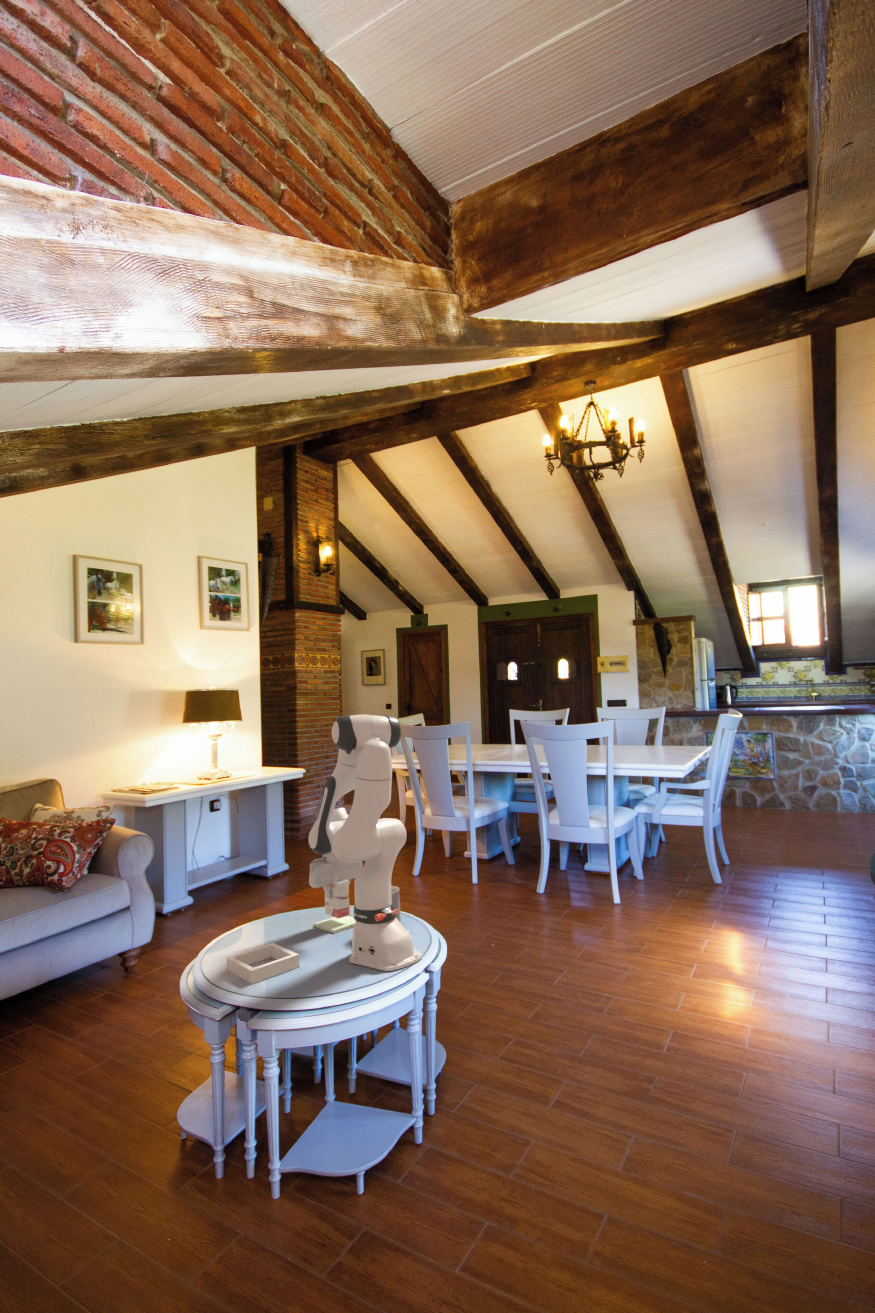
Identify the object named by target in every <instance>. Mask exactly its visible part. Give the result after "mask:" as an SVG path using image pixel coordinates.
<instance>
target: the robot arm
mask: <svg viewBox="0 0 875 1313" xmlns="http://www.w3.org/2000/svg"><path fill="white" fill-rule="evenodd" d="M401 729H402V728H401V724H400V721H398V719H397V718H396V717H394V716H391V715H373V714H368V713H367V714H364V713H363V714H352V715H348V714H345V715H340V716H338V717H336V719H334V721H333V722H332V727H331V737H332V738H331V739H332V742H333V744H334V745H335V746H336V748H337V747H338V754H337V762H336V764H335V765H336V766H335V767H334V770H333V772H332V773H331V775H330V776H329V777H328V778H326V780H325V782H324V784H323V787H322V790H321V794H320V797H319V801H318V805H317V809H316V812H315V816H314V820H313V823H312V825H311V827H310V829H309V833H308V838H307V841H308V842H307V843H308V846H309V848H310V850H312V851H313V852H314V853H315V854H317V855H319V856H322V857H320V858H315V859H313V860H312V861H311V862H310V864H309V875H308V885H309V886H310V887H311V888H313V889H319V888H322V889H323V890H324V893H325V892H326V897H327V898H331V897H332V892H330V891H329V889H328V888H330V884H333V883H334V873H336V874H337V875H338V877H337V881H340V880H348V882H349V885H350V884H351V880H352V879H354V883H353V885H354V886H353V887H354V891H353V892H354V906H353V918H354V919H355V926H354V927H353V930H352V936H351V937H352V938H351V939H352V940H351V943H352V944H351V954H350V956H349V957H348V962H349V963H351V964H354V965H359V966H362V967H366V968H371V969H374V970H379V971H383V972H392V971H397V970H401V969H403V968H406V967H408V966H412V965H414V964H415V963H418V961H420V960H422V958H423V954H422V952H420V951H419V950H417V949H415V948H414V942H413V938H412V935H411V933H410V931H409V929H406V928H405V926H404V925H403V924H402V922H401V923H400V922H399V921H398V919H397V918H396V913H398V912H395V911H397V910H398V909H396V910H395V908H394V905H393V903H392V898H391V886H392V875H393V871H394V866H395V862H396V860H397V857H398V855H399V852H400V851H401V850H402V848H403V847H404V846H405V844H406V843H407V842H406V841H407V829H406V827H405V825H404V823H403V822H402V821H401V820H400V819H398V818H394V817H393V818H392V817H388V818H387V817H383V818H381V815H382V814H383V812H384V811H385V810H386V809H387V808H388V807H389V805H390V804H391V800H392V784H393V782H392V781H393V761H392V760H393V759H392V752H391V749H392V748H395V747H396V746H397V745H398V744H399V743H400V741H401V736H402V730H401ZM353 790H354V794H353V801H352V805H351V808H350V812H349V814H348V813H347V810H346V807H343V806H337V807H335V806H336V804H337V802H338V801H339V799H341V798H342V797H344V796H345V795H346V794H348V793H350V792H351V791H353ZM363 862H364V863H363Z"/></svg>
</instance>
